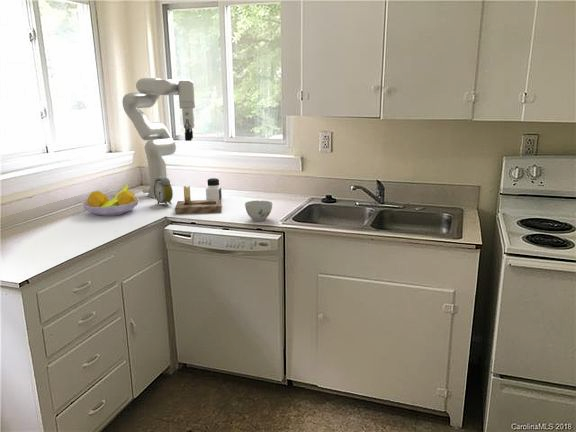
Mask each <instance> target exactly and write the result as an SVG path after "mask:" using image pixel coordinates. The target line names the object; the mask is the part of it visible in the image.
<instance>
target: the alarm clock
mask: <svg viewBox="0 0 576 432" xmlns="http://www.w3.org/2000/svg"><path fill="white" fill-rule="evenodd" d="M173 193H174V192H173V188H172V185H171V180H170V179H169V178H168V177H167V178H163V177H162V176H158V177H156V179H155V184H154V195H155V198H154V199H155V200H156V201H157V205H159V204H164V206H165V208H168V204H170V205H172V202H171V201H172V200H173V196H174V194H173Z"/></svg>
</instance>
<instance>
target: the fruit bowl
mask: <svg viewBox="0 0 576 432" xmlns="http://www.w3.org/2000/svg"><path fill="white" fill-rule="evenodd" d="M138 202H139V198H138V196H136V195H135V193H134V192H132V191H131V190H129V184H128V183H126V185H125V186H124V187H123V188H122V189H121V190H120V191H118V192H117V193H116V194H115V195H113V194H112V195H111V194H109V195H106V194H105V193H103V192H101V191H99V190H95V191H91V192H90V194H89V195H88V197H87V199H86V200H83V201H82V202H81V206H82V207H83V209H84V210H85V211H86V212H87V213H91V214H94V215H96V216H100V217H101V216H118V215H122V214H124V213H126V212H129V211H131V210H133V209H134V208H136V207H137V205H138V204H139V203H138Z"/></svg>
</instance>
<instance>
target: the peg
mask: <svg viewBox="0 0 576 432" xmlns="http://www.w3.org/2000/svg"><path fill="white" fill-rule="evenodd" d="M190 187H191V186H189V185H185V186H183V194H184V195H183V199H184V200H183V201H185V205H191V201H192V199H191V189H190Z"/></svg>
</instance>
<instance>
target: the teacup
mask: <svg viewBox="0 0 576 432" xmlns="http://www.w3.org/2000/svg"><path fill="white" fill-rule="evenodd" d="M244 208H245V210H246V213H247V215H248V216H249V218H250V219H251V220H252V221H254V222H264V221H266V219H267V218H268V217H269V216H270V214H271V212H272V208H273V202H272V201H269V200H250V201H246V202H245V203H244Z"/></svg>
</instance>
